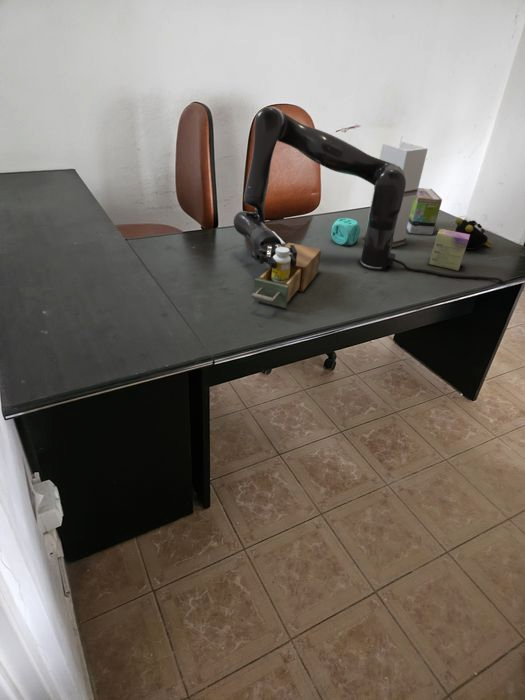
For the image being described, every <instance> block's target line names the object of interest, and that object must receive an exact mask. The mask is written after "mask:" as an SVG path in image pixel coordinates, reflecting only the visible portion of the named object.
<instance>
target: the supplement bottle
mask: <svg viewBox="0 0 525 700" xmlns="http://www.w3.org/2000/svg"><path fill="white" fill-rule="evenodd" d="M275 253H276V254H275V255H274V256H273V258H274V260H275V261H276V263H277V264H276V269H273V268H272V275H271V279H272V280H273V281H274V282H277V283H285V282H287V281H288V280H289V275H290V265H291V257H290V256H289V249H288V248H286V247H278V248H276V251H275Z"/></svg>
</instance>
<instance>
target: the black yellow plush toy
mask: <svg viewBox="0 0 525 700" xmlns="http://www.w3.org/2000/svg"><path fill="white" fill-rule="evenodd" d="M455 224H456V225H457V226H456V227H455V230H454V231H455V232H460V233H465V234H470V237H469V240H468V243H467V246H466V250H475V249H479V248H481V247H483V246H484V245H486V246H487V247H489V248H491V247H492V246H493V243H492V242H491V241H489V237H488V236H487V235H486V231H485V229H484V228H483V226H482V225H481V224H480V223H477V221H476V220H473V219H472V220H469V221H468V220H466V219H463V218H461V217H458V218H457V219H456V220H455Z"/></svg>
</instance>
